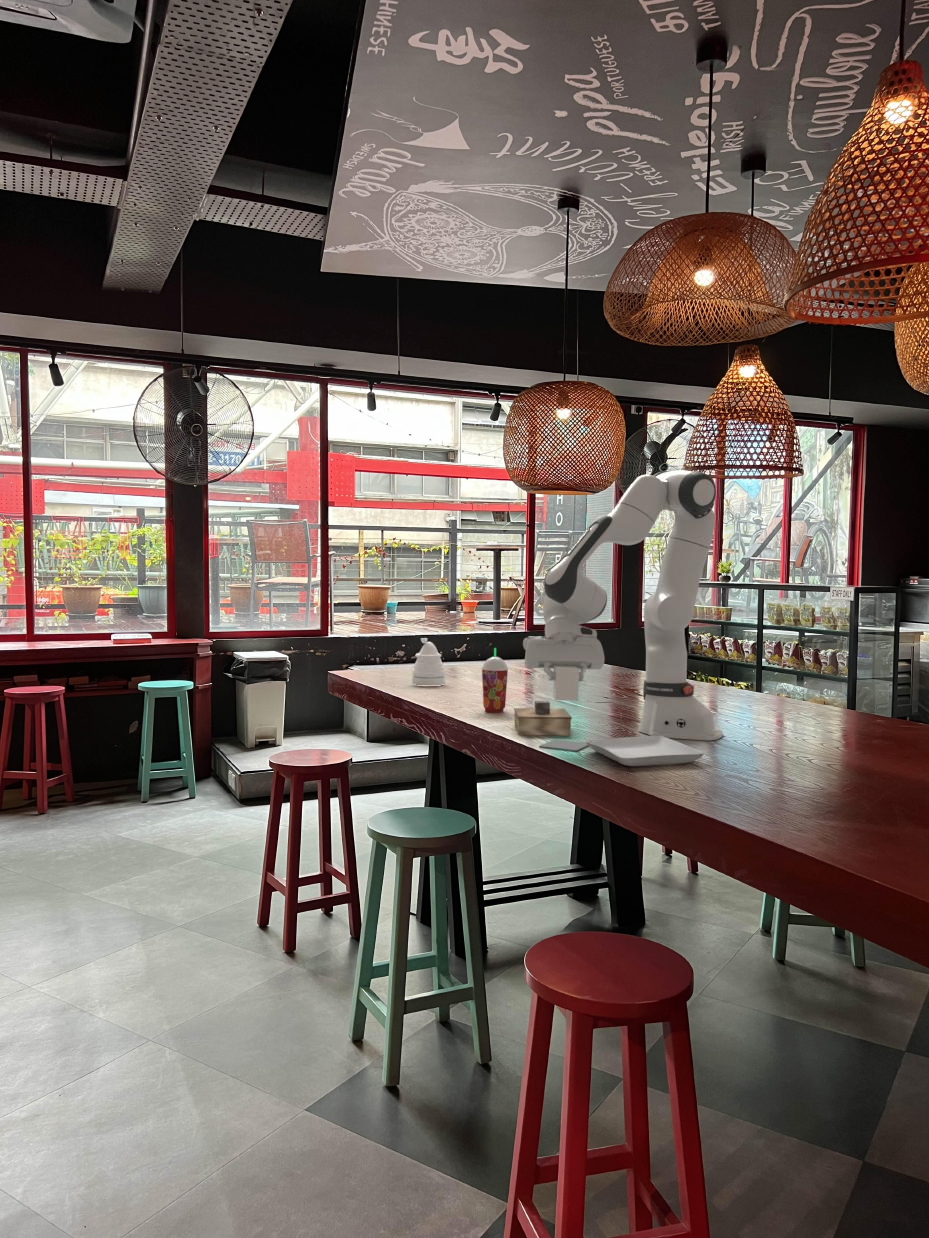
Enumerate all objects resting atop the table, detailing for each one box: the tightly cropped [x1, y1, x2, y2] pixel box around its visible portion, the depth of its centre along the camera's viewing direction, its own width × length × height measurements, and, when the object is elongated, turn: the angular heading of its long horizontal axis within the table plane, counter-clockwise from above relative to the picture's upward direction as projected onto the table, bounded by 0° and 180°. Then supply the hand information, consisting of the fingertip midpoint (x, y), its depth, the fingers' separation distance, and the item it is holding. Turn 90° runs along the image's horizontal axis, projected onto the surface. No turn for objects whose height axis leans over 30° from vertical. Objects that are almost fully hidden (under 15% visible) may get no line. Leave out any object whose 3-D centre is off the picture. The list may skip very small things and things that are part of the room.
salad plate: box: [585, 735, 705, 767], centre depth 204 cm, size 21×21×3 cm
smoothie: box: [481, 647, 509, 714], centre depth 270 cm, size 8×8×20 cm
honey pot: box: [411, 637, 446, 685], centre depth 333 cm, size 13×13×18 cm
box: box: [513, 700, 572, 736], centre depth 238 cm, size 14×14×8 cm
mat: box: [538, 738, 589, 753], centre depth 217 cm, size 10×10×1 cm
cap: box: [552, 666, 580, 702], centre depth 216 cm, size 6×6×8 cm
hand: (566, 679), depth 215 cm, fingers closed on cap, 6 cm apart
